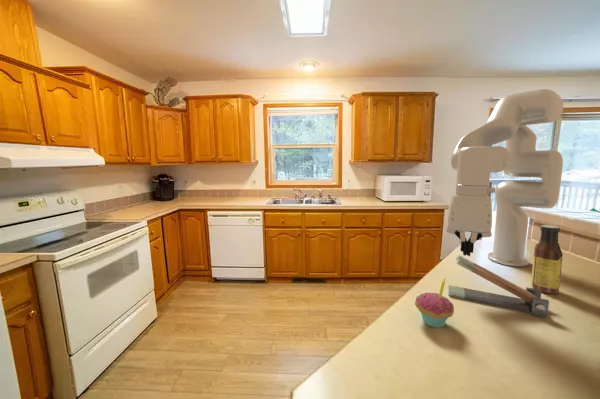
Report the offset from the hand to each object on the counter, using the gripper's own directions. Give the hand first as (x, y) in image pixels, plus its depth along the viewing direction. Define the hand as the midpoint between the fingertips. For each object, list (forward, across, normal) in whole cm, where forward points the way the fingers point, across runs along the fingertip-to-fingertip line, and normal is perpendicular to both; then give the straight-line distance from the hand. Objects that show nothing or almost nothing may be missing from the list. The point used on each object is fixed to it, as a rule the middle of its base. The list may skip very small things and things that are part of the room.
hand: (466, 254), depth 73 cm
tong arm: (+7, -7, -1) cm, 10 cm away
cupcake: (+14, +7, +17) cm, 23 cm away
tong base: (+13, -8, -1) cm, 15 cm away
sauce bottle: (+13, -22, -16) cm, 30 cm away
